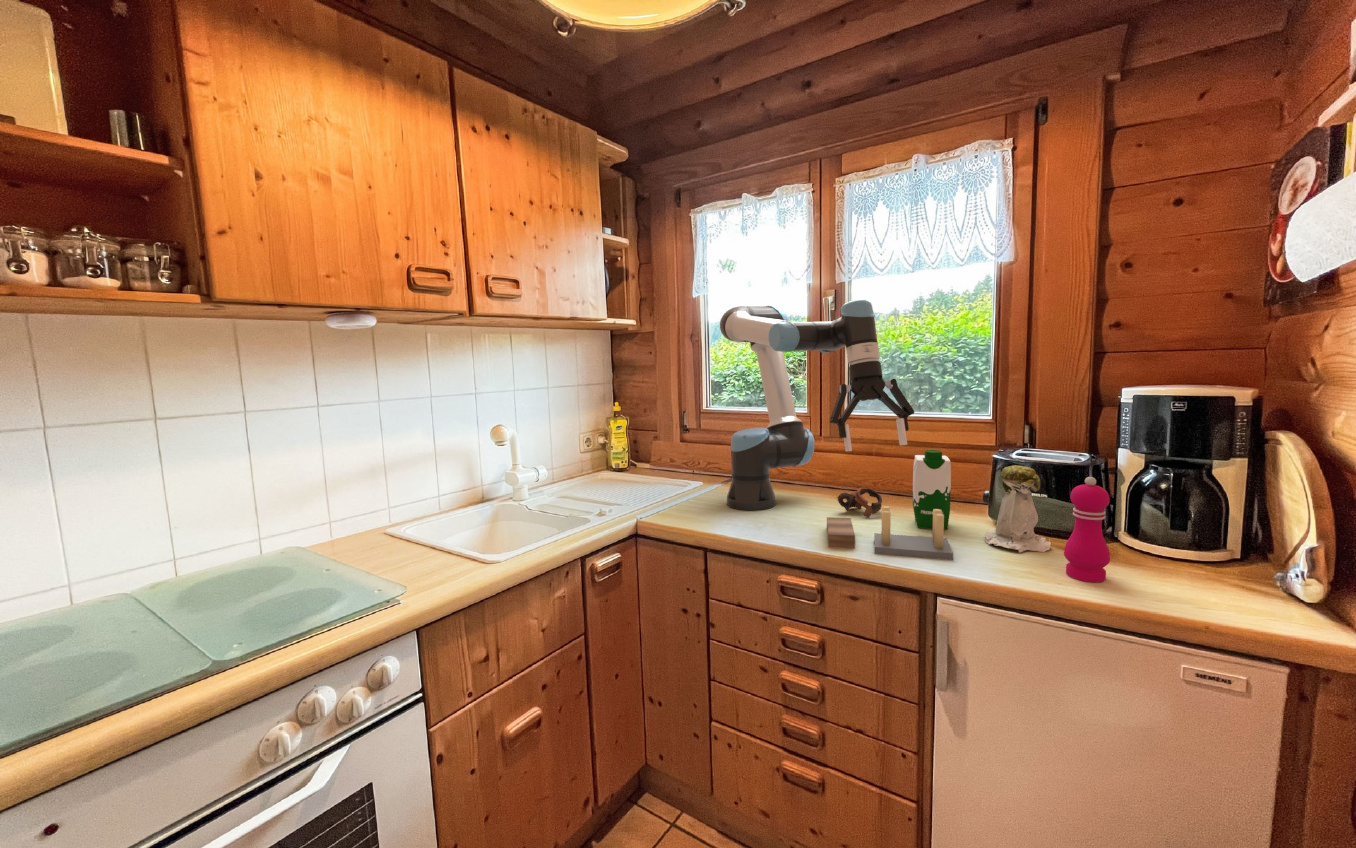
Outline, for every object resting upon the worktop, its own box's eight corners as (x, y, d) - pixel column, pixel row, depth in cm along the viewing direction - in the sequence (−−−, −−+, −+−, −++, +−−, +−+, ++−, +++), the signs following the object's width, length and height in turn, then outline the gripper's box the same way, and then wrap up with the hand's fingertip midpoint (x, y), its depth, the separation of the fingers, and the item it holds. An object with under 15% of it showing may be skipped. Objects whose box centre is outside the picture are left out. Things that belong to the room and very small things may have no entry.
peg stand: (874, 553, 121) (874, 515, 120) (874, 539, 130) (874, 503, 129) (953, 559, 115) (953, 519, 114) (946, 544, 124) (947, 507, 123)
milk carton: (914, 529, 136) (915, 452, 134) (911, 518, 145) (912, 446, 142) (952, 531, 133) (954, 453, 131) (946, 520, 142) (948, 447, 140)
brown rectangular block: (855, 549, 124) (855, 535, 124) (828, 548, 126) (828, 534, 125) (850, 531, 138) (850, 518, 137) (826, 530, 139) (826, 517, 139)
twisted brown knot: (868, 508, 158) (880, 487, 154) (876, 531, 150) (889, 510, 146) (830, 500, 157) (840, 479, 153) (836, 522, 149) (847, 501, 145)
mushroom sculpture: (972, 537, 129) (975, 462, 127) (1023, 534, 130) (1026, 460, 128) (1006, 554, 117) (1009, 472, 115) (1061, 551, 118) (1065, 469, 116)
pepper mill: (1053, 570, 108) (1058, 474, 105) (1086, 568, 108) (1092, 472, 106) (1083, 585, 101) (1089, 482, 98) (1119, 582, 101) (1125, 480, 99)
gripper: (818, 365, 127) (830, 453, 125) (920, 354, 128) (933, 441, 126) (810, 370, 135) (821, 454, 133) (906, 360, 135) (919, 443, 133)
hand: (876, 448), depth 129 cm, fingers open, 13 cm apart
